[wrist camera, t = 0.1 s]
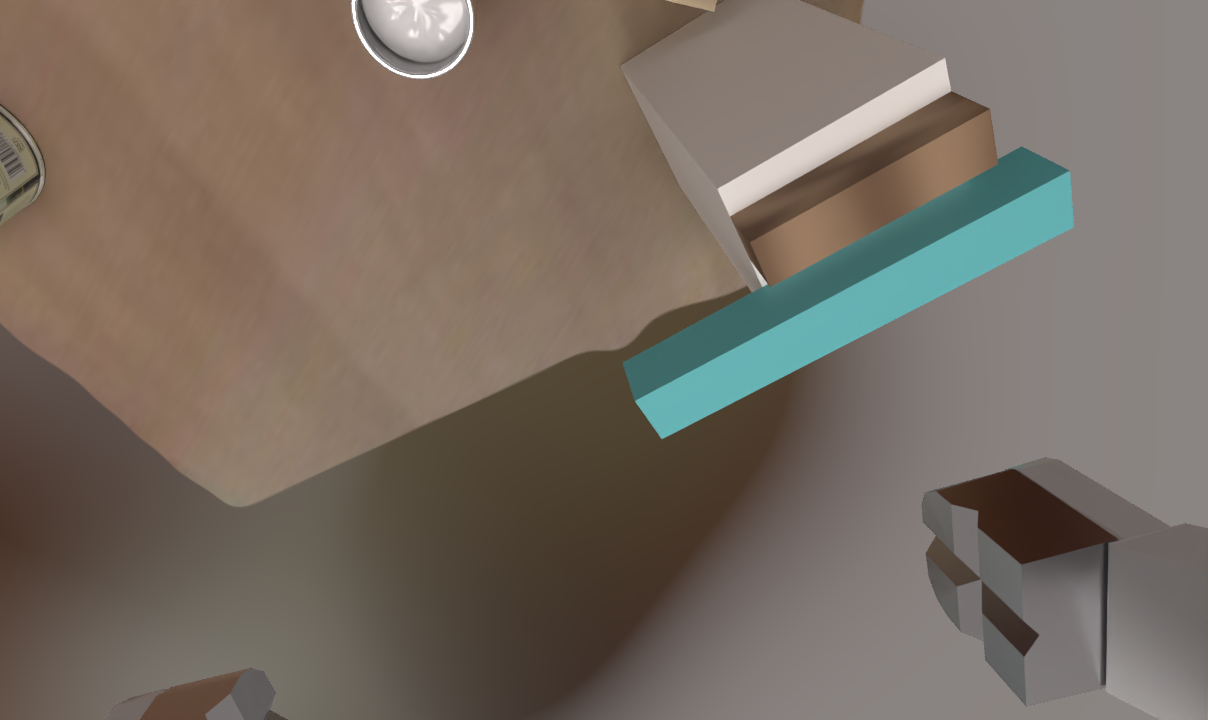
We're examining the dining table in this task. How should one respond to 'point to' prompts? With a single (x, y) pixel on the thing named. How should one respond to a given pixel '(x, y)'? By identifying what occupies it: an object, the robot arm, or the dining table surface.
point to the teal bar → (852, 291)
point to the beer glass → (415, 34)
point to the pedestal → (771, 101)
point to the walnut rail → (867, 186)
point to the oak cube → (698, 3)
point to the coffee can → (18, 167)
